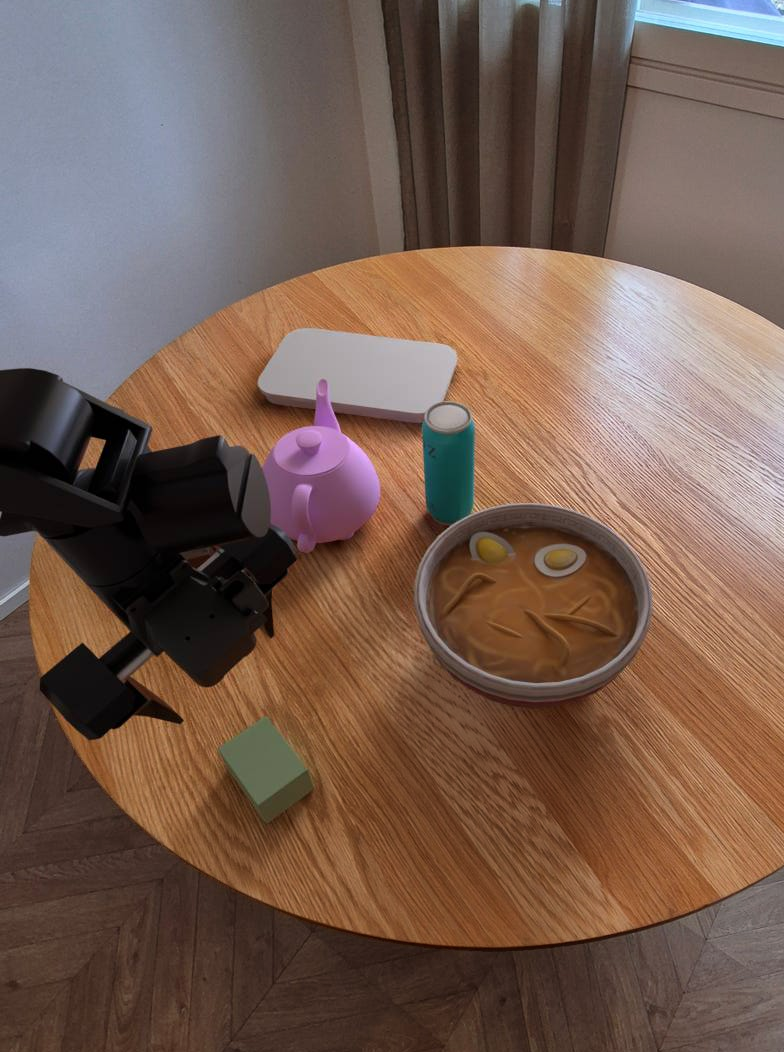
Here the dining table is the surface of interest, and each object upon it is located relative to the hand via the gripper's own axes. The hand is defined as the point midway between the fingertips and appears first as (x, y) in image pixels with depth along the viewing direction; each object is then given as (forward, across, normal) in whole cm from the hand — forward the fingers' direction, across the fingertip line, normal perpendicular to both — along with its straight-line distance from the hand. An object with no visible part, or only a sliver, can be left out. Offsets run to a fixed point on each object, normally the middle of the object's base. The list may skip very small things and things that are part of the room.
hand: (225, 676), depth 62 cm
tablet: (+16, +44, +38) cm, 61 cm away
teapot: (+16, +24, +23) cm, 36 cm away
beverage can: (+19, +33, +11) cm, 40 cm away
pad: (+15, -3, 0) cm, 15 cm away
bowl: (+20, +24, -8) cm, 32 cm away
